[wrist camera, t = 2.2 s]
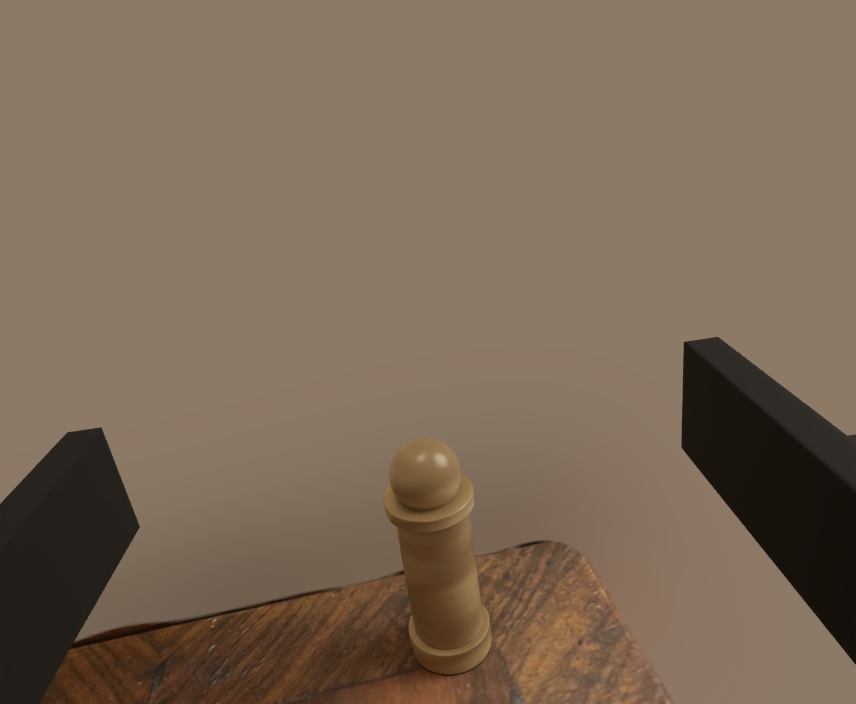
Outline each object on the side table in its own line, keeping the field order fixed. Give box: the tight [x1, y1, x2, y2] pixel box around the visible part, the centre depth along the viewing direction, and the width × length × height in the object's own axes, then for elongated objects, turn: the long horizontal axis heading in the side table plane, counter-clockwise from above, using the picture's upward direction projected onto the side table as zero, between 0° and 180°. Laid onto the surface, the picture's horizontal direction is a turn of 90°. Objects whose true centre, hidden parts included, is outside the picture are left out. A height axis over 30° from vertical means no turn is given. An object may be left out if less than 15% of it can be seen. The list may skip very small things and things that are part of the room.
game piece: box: [384, 438, 492, 675], centre depth 28 cm, size 4×4×11 cm
